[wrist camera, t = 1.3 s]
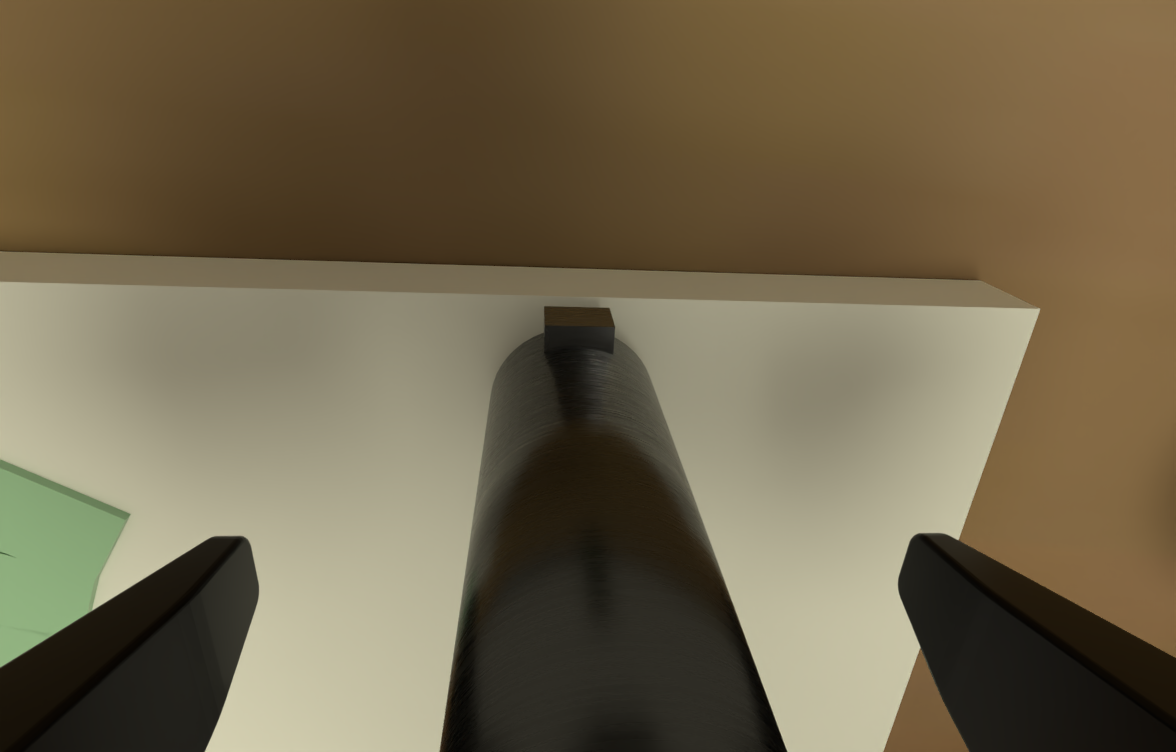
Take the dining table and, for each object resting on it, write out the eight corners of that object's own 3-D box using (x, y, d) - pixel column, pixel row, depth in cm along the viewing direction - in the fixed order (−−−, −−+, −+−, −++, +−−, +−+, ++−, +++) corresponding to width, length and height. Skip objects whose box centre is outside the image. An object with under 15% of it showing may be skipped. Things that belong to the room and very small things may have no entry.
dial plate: (803, 854, 24) (826, 923, 22) (89, 887, 22) (44, 967, 20) (980, 280, 15) (1047, 311, 13) (-207, 245, 13) (-339, 276, 11)
